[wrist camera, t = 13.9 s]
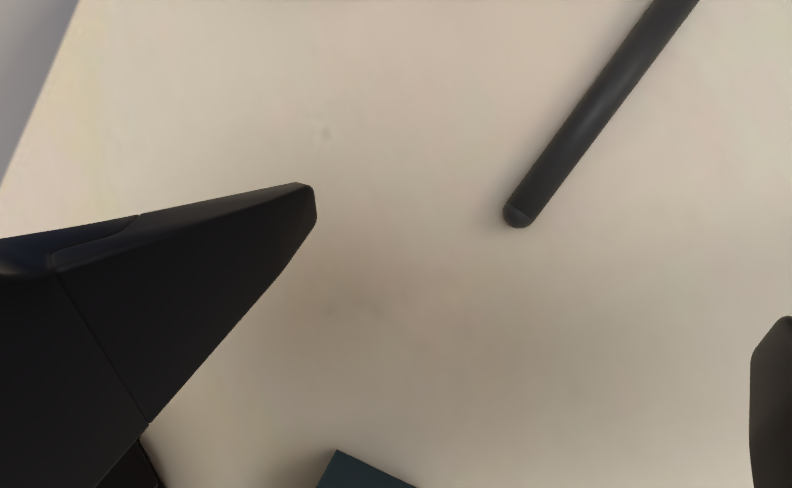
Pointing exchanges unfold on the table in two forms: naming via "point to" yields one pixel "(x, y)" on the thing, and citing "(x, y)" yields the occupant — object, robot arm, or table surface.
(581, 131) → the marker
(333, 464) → the watch
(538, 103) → the table surface
